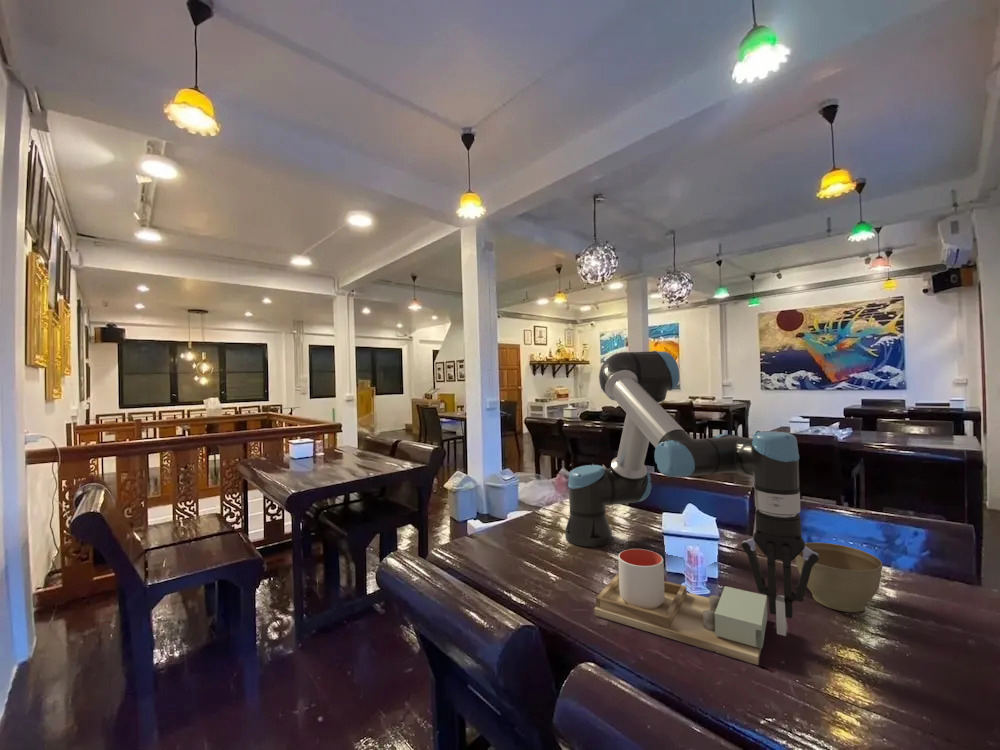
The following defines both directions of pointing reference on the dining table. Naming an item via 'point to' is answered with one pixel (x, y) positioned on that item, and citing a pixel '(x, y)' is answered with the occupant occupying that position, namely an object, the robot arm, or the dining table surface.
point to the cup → (641, 578)
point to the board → (675, 619)
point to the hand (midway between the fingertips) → (781, 631)
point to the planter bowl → (842, 576)
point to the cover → (741, 616)
